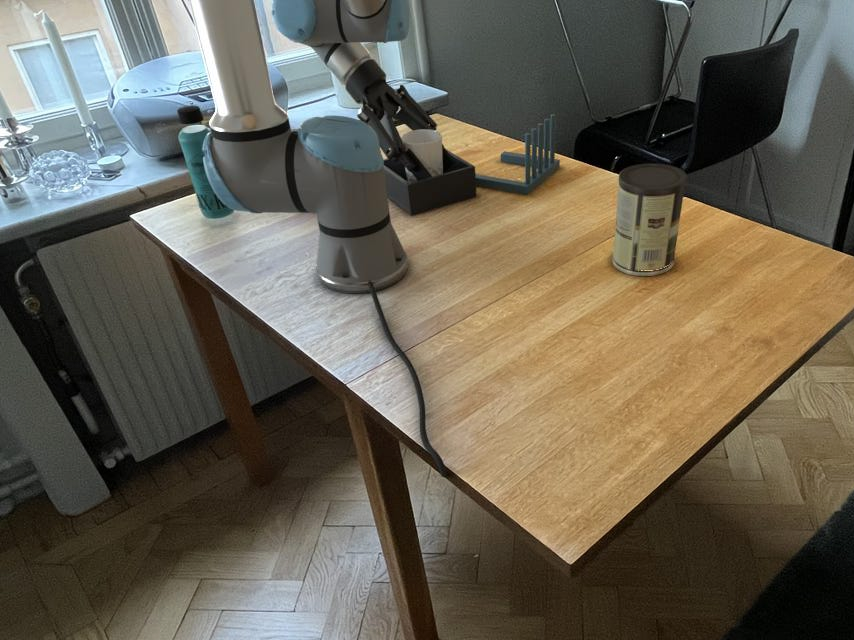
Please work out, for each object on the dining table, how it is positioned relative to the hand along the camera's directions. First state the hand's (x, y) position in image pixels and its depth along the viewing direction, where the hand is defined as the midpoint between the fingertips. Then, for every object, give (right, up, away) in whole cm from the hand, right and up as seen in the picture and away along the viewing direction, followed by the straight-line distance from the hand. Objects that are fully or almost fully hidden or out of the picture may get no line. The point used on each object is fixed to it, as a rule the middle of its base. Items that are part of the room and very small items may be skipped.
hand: (439, 173), depth 140 cm
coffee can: (+35, -24, -19) cm, 47 cm away
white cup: (-3, -2, +4) cm, 5 cm away
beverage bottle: (-43, -9, +1) cm, 43 cm away
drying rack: (+14, +4, +9) cm, 17 cm away
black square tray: (-3, -2, +4) cm, 6 cm away
